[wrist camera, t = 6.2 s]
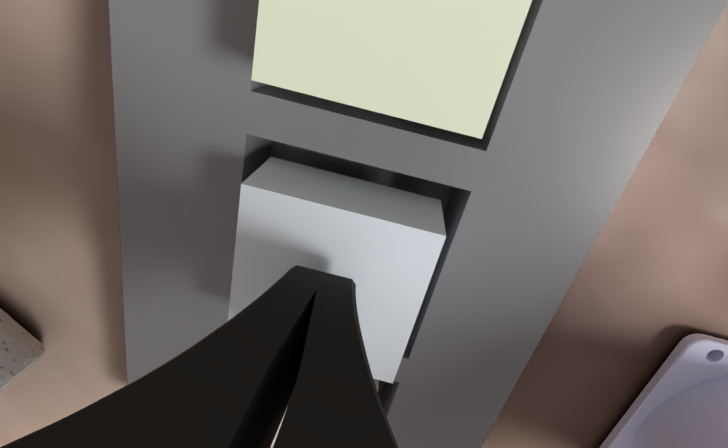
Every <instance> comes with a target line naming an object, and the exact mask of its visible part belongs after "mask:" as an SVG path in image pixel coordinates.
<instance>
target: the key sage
mask: <svg viewBox="0 0 728 448" xmlns="http://www.w3.org/2000/svg"><path fill="white" fill-rule="evenodd" d="M531 2H532V0H259V7H258V17H257V27H256V37H255V47H254V58H253V68H252V78H251V80H253V81H257V82H261V83H265V84H268V85H272V86H276V87H280V88H284V89H288V90H292V91H296V92H300V93H304V94H308V95H311V96H315V97H319V98H323V99H327V100H331V101H335V102H339V103H343V104H347V105H351V106H354V107H358V108H362V109H366V110H370V111H374V112H378V113H382V114H386V115H390V116H394V117H397V118H401V119H405V120H409V121H413V122H417V123H421V124H425V125H429V126H433V127H437V128H440V129H444V130H448V131H452V132H456V133H460V134H464V135H468V136H472V137H476V138H480V139H482V137H483V134H484V131H485V129H486V126H487V123H488V121H489V118H490V115H491V112H492V110H493V107H494V104H495V101H496V99H497V96H498V93H499V90H500V88H501V85H502V82H503V79H504V77H505V74H506V71H507V68H508V66H509V63H510V60H511V57H512V55H513V52H514V49H515V46H516V44H517V41H518V38H519V35H520V33H521V30H522V27H523V24H524V22H525V19H526V16H527V13H528V11H529V8H530V5H531Z"/></svg>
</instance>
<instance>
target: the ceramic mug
mask: <svg viewBox="0 0 728 448" xmlns="http://www.w3.org/2000/svg"><path fill="white" fill-rule="evenodd" d="M44 351H45V349H44V346H43V344H42V343H40V342H39V341H38V340H37V339H36V338H35V337H33V336H32V335H31V334H30V333H29V332H28V331H26V330H25V329H24V328H23V327H22V326H20V325H19V324H18V323H17V322H16V321H15V320H13V319H12V318H11V317H10V316H9V315H8V314H7V313H5V312H4V311H3V310H2V309H1V308H0V391H1V390H2V389H3V388H4V387H6V386H7V385H9V384H10V383H11V381H12V380H14V379H15V378H16V377H18V376H19V375H21V374H22V373H23V372H24V371H25V370H26V369H27V368H28V367H30V366H31V365H32V364H34V363H35V362H36V361H37V360H38V359H39V358H40V357H41V356H42V354H43V352H44Z"/></svg>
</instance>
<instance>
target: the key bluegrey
mask: <svg viewBox="0 0 728 448" xmlns="http://www.w3.org/2000/svg"><path fill="white" fill-rule="evenodd" d="M445 239H446V231H445V224H444V218H443V212H442V205H441V200H439V199H435V198H431V197H427V196H423V195H419V194H415V193H411V192H407V191H404V190H400V189H396V188H392V187H388V186H384V185H380V184H376V183H372V182H368V181H364V180H360V179H357V178H353V177H349V176H345V175H341V174H337V173H333V172H329V171H325V170H321V169H317V168H314V167H310V166H306V165H302V164H298V163H294V162H290V161H286V160H282V159H278V158H274V157H270V158H269V159H268V160H267V161H266V162H265V163H264V164H263V165H261V166H260V167H259V168H258V169H257V170H256V171H255V172H254V173H253V174H251V175H250V176H249V177H248V178H247V179H246V180H245V181H244V182H243V183H241V191H240V201H239V211H238V221H237V231H236V242H235V252H234V262H233V272H232V283H231V293H230V303H229V313H228V321H229V320H230V319H232V318H233V317H234V316H235V315H237V314H238V313H239V312H241V311H242V310H243V309H244V308H246V307H247V306H248V305H249V304H251V303H252V302H253V301H254V300H256V299H257V298H258V297H259V296H261V295H262V294H263V293H264V292H265V291H266V290H268V289H269V288H270V287H271V286H272V285H273V284H275V283H276V282H277V281H278V280H279V279H280V278H281V277H282V276H283V275H284V274H285V273H286V272H287V271H288V270H289V269H290V268H292V267H294V266H296V265H299V266H303V267H306V268H310V269H314V270H318V271H322V272H326V273H330V274H334V275H338V276H342V277H346V278H350V279H353V281H354V283H355V284H356V304H357V312H358V318H359V324H360V329H361V334H362V338H363V342H364V346H365V350H366V355H367V359H368V362H369V366H370V369H371V373H372V376H373V379H377V380H381V381H384V382H388V383H392V384H393V381H394V379H395V376H396V373H397V370H398V368H399V365H400V362H401V359H402V357H403V354H404V351H405V349H406V346H407V343H408V340H409V338H410V335H411V332H412V329H413V327H414V324H415V321H416V318H417V316H418V313H419V310H420V307H421V305H422V302H423V299H424V296H425V294H426V291H427V288H428V285H429V283H430V280H431V277H432V274H433V272H434V269H435V266H436V263H437V261H438V258H439V255H440V252H441V250H442V247H443V244H444V241H445Z"/></svg>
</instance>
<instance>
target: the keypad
mask: <svg viewBox="0 0 728 448" xmlns="http://www.w3.org/2000/svg"><path fill="white" fill-rule="evenodd" d="M108 1H109V21H110V41H111V62H112V82H113V103H114V123H115V143H116V164H117V184H118V205H119V225H120V245H121V266H122V286H123V307H124V327H125V348H126V368H127V385H128V384H130V383H132V382H134V381H136V380H138V379H139V378H141V377H143V376H144V375H146V374H148V373H150V372H151V371H153V370H155V369H156V368H158V367H160V366H161V365H163V364H165V363H166V362H168V361H170V360H171V359H173V358H175V357H176V356H178V355H179V354H181V353H182V352H184V351H185V350H187V349H189V348H190V347H192V346H193V345H195V344H196V343H198V342H199V341H200V340H202V339H203V338H205V337H206V336H208V335H209V334H210V333H212V332H213V331H215V330H216V329H218V328H219V327H220V326H222V325H223V324H225V323H226V322H228V313H229V303H230V293H231V283H232V272H233V262H234V252H235V242H236V231H237V221H238V211H239V201H240V191H241V183H243V182H244V181H245V180H246V179H247V178H248V177H249V176H250V175H251V174H253V173H254V172H255V171H256V170H257V169H258V168H259V167H260V166H261V165H263V164H264V163H265V162H266V161H267V160H268V159H269V158H270V157H274V158H278V159H282V160H286V161H290V162H294V163H298V164H302V165H306V166H310V167H314V168H317V169H321V170H325V171H329V172H333V173H337V174H341V175H345V176H349V177H353V178H357V179H360V180H364V181H368V182H372V183H376V184H380V185H384V186H388V187H392V188H396V189H400V190H404V191H407V192H411V193H415V194H419V195H423V196H427V197H431V198H435V199H439V200H441V205H442V212H443V218H444V224H445V231H446V239H445V241H444V244H443V247H442V250H441V252H440V255H439V258H438V261H437V263H436V266H435V269H434V272H433V274H432V277H431V280H430V283H429V285H428V288H427V291H426V294H425V296H424V299H423V302H422V305H421V307H420V310H419V313H418V316H417V318H416V321H415V324H414V327H413V329H412V332H411V335H410V338H409V340H408V343H407V346H406V349H405V351H404V354H403V357H402V359H401V362H400V365H399V368H398V370H397V373H396V376H395V379H394V381H393V384H392V383H388V382H384V381H381V380H379V386H378V395H379V398H380V401H381V403H382V406H383V409H384V412H385V415H386V417H387V420H388V423H389V425H390V428H391V430H392V433H393V435H394V438H395V440H396V442H397V445H398V447H399V448H481V446H482V444H483V442H484V440H485V439H486V437H487V435H488V433H489V431H490V430H491V428H492V426H493V424H494V422H495V421H496V419H497V417H498V415H499V413H500V412H501V410H502V408H503V406H504V404H505V403H506V401H507V399H508V397H509V395H510V394H511V392H512V390H513V388H514V386H515V385H516V383H517V381H518V379H519V377H520V376H521V374H522V372H523V370H524V368H525V367H526V365H527V363H528V361H529V359H530V358H531V356H532V354H533V352H534V350H535V349H536V347H537V345H538V343H539V341H540V340H541V338H542V336H543V334H544V332H545V331H546V329H547V327H548V325H549V323H550V322H551V320H552V318H553V316H554V315H555V313H556V311H557V309H558V307H559V306H560V304H561V302H562V300H563V298H564V297H565V295H566V293H567V291H568V289H569V288H570V286H571V284H572V282H573V280H574V279H575V277H576V275H577V273H578V271H579V270H580V268H581V266H582V264H583V262H584V261H585V259H586V257H587V255H588V253H589V252H590V250H591V248H592V246H593V244H594V243H595V241H596V239H597V237H598V235H599V234H600V232H601V230H602V228H603V226H604V225H605V223H606V221H607V219H608V217H609V216H610V214H611V212H612V210H613V208H614V207H615V205H616V203H617V201H618V199H619V198H620V196H621V194H622V192H623V190H624V189H625V187H626V185H627V183H628V181H629V180H630V178H631V176H632V174H633V172H634V171H635V169H636V167H637V165H638V163H639V162H640V160H641V158H642V156H643V154H644V153H645V151H646V149H647V147H648V145H649V144H650V142H651V140H652V138H653V136H654V135H655V133H656V131H657V129H658V127H659V126H660V124H661V122H662V120H663V118H664V117H665V115H666V113H667V111H668V109H669V108H670V106H671V104H672V102H673V100H674V99H675V97H676V95H677V93H678V91H679V90H680V88H681V86H682V84H683V82H684V81H685V79H686V77H687V75H688V73H689V72H690V70H691V68H692V66H693V64H694V63H695V61H696V59H697V57H698V56H699V54H700V52H701V50H702V48H703V47H704V45H705V43H706V41H707V39H708V38H709V36H710V34H711V32H712V30H713V29H714V27H715V25H716V23H717V21H718V20H719V18H720V16H721V14H722V12H723V11H724V9H725V7H726V5H727V3H728V0H532V2H531V5H530V8H529V11H528V13H527V16H526V19H525V22H524V24H523V27H522V30H521V33H520V35H519V38H518V41H517V44H516V46H515V49H514V52H513V55H512V57H511V60H510V63H509V66H508V68H507V71H506V74H505V77H504V79H503V82H502V85H501V88H500V90H499V93H498V96H497V99H496V101H495V104H494V107H493V110H492V112H491V115H490V118H489V121H488V123H487V126H486V129H485V131H484V134H483V137H482V139H480V138H476V137H472V136H468V135H464V134H460V133H456V132H452V131H448V130H444V129H440V128H437V127H433V126H429V125H425V124H421V123H417V122H413V121H409V120H405V119H401V118H397V117H394V116H390V115H386V114H382V113H378V112H374V111H370V110H366V109H362V108H358V107H354V106H351V105H347V104H343V103H339V102H335V101H331V100H327V99H323V98H319V97H315V96H311V95H308V94H304V93H300V92H296V91H292V90H288V89H284V88H280V87H276V86H272V85H268V84H265V83H261V82H257V81H253V80H251V78H252V68H253V58H254V47H255V37H256V27H257V17H258V7H259V0H108Z"/></svg>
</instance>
